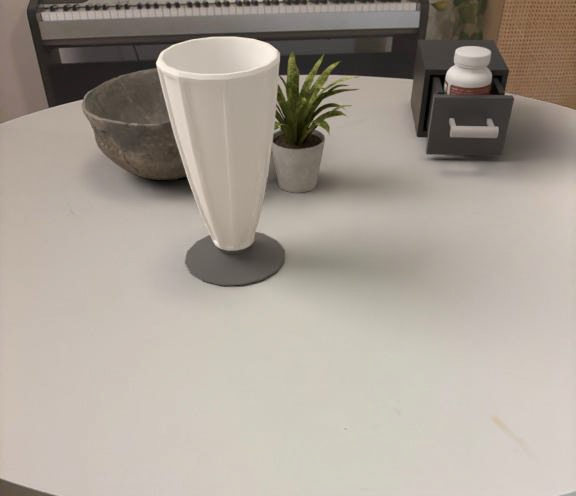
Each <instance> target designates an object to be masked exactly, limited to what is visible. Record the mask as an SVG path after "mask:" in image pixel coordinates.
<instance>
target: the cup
mask: <svg viewBox="0 0 576 496" xmlns="http://www.w3.org/2000/svg"><path fill="white" fill-rule="evenodd" d="M280 63H281V53H280V51H279V50H278V49H277V48H275V46H274V45H271V44H270V43H269V42H266V41H262V40H258V39H256V38H249V37H242V36H208V37H201V38H194V39H188V40H184V41H182V42H178V43H175V44H171V46H168V47H166V48H165V49H163V50H162V51H161V52H160V53H159V55H158V57H157V60H156V62H155V65H156V68H157V69H158V74H159V78H160V82H161V86H162V90H163V95H164V98H165V102H166V106H167V110H168V114H169V118H170V122H171V125H172V129H173V133H174V136H175V140H176V143H177V146H178V149H179V153H180V156H181V159H182V162H183V165H184V169H185V172H186V175H187V176H186V178H187V181H188V184H189V187H190V189H191V192H192V195H193V197H194V198H193V199H194V201H195V203H196V206H197V209H198V212H199V214H200V216H201V219H202V221H203V223H204V225H205V227H206V229H207V232H208V234H209V235H207V236H204V237H203V238H200V239H198V240H197V241H196V242H194V244H192V246H191V247H190V248H189V249H188V250H187V251H186V254H185V260H184V264H185V265H186V267H187V270H188V271H189V273H190V274H191V275H192V276H194V277H196V278H197V279H199V280H201V281H202V282H204V283H208V284H212V285H216V286H220V287H235V286H234V285H240V287H242V286H248V285H251V284H255V283H258V282H262V281H264V280H266V279H267V278H270V277H271V276H273V275H274V274H277V272H278V271H279V269H281V267H282V265H283V264H284V262H285V249H284V248H283V246H282V245H281V244H280V242H279V241H278V240H277V239H275V238H273V237H271V236H270V235H267V234H265V233H263V232H258V231H257V228H258V224H259V222H260V217H261V213H262V210H263V204H264V199H265V194H266V187H267V183H268V176H269V169H270V163H271V154H272V141H273V133H274V132H275V130H274V126H275V121H276V118H275V114H276V110H277V107H276V104H277V103H278V101H277V90H278V84H279V75H280V73H279V72H280Z"/></svg>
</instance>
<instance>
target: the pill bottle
mask: <svg viewBox="0 0 576 496" xmlns="http://www.w3.org/2000/svg"><path fill="white" fill-rule="evenodd" d="M490 58H491V51H490V50H489V49H487V48H483V47H477V46H464V47H460V48H457V49H456V51H455V56H454V63H455V65H454V66H452V67H451V68H450V69H449V70H448V71H447V73H446V78H445V85H444V91H443V94H452V95H489V92H490V87H491V81H492V73H491V71H490V70H489V69H488V68H487V66H488V65H489V62H490Z"/></svg>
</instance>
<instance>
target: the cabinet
mask: <svg viewBox="0 0 576 496" xmlns="http://www.w3.org/2000/svg"><path fill="white" fill-rule="evenodd" d="M416 45H417V46H416V54H415V61H414V70H413V80H412V87H411V96H410V107H411V112H412V118H413V124H414V123H415V124H414V129H415V133H416V137H419V138H420V137H421V138H423V137H426V138H428V133H427V128H426V123H425V111H426V104H427V96H428V89H429V82H430V75H446V73H447V71H448V70H449V69H450V68H451V67H452V66H454V65H455V63H454V56H455V51H456V49H457V48H460V47H464V46H477V47H483V48H487V49H489V50H490V51H491V58H490V62H489V65H488V66H487V68H488V69H489V70H490V71H491V73H492V76H497V77H498V79H499V81H500V84H501V86H502V88H503V90H504V92H505V93H506V88H507V84H508V79H509V74H510V68H509V66H508V65H507V63H506V61H505V59H504V57H503V55H502V53H501V52H500V49H499V47H498V46H497V44H496V42H495V39H418V40H417V44H416Z"/></svg>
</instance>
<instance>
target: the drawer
mask: <svg viewBox="0 0 576 496" xmlns="http://www.w3.org/2000/svg"><path fill="white" fill-rule="evenodd" d="M445 78H446V75H430V82H429V89H428V96H427V104H426V111H425V123H426V128H427V133H428V137H426V138H427V139H426V145H425V154H426V155H437V156H439V155H440V156H491V157H492V156H493V157H494V156H498V157H499V156H500V157H501V156H502V155H503V150H504V145H505V141H506V138H507V137H506V136H507V132H508V129H509V123H510V119H511V115H512V111H513V106H514V102H515V97H514V95H513V94H506V91H505V92H504V90H503V88H502V86H501V84H500V81H499V79H498V77H497V76H492V81H491V87H490V92H489V95H452V94H443V91H444V85H445Z"/></svg>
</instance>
